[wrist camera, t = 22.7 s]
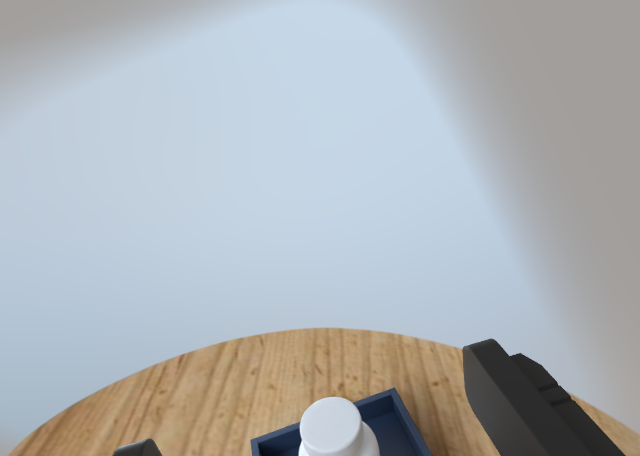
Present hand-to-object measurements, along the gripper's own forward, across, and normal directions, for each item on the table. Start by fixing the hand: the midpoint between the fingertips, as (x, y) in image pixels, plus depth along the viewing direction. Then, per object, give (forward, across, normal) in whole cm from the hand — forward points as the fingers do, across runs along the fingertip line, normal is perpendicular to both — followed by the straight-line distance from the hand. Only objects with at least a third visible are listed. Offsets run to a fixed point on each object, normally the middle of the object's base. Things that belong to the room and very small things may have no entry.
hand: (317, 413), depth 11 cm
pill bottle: (+11, 0, +24) cm, 26 cm away
